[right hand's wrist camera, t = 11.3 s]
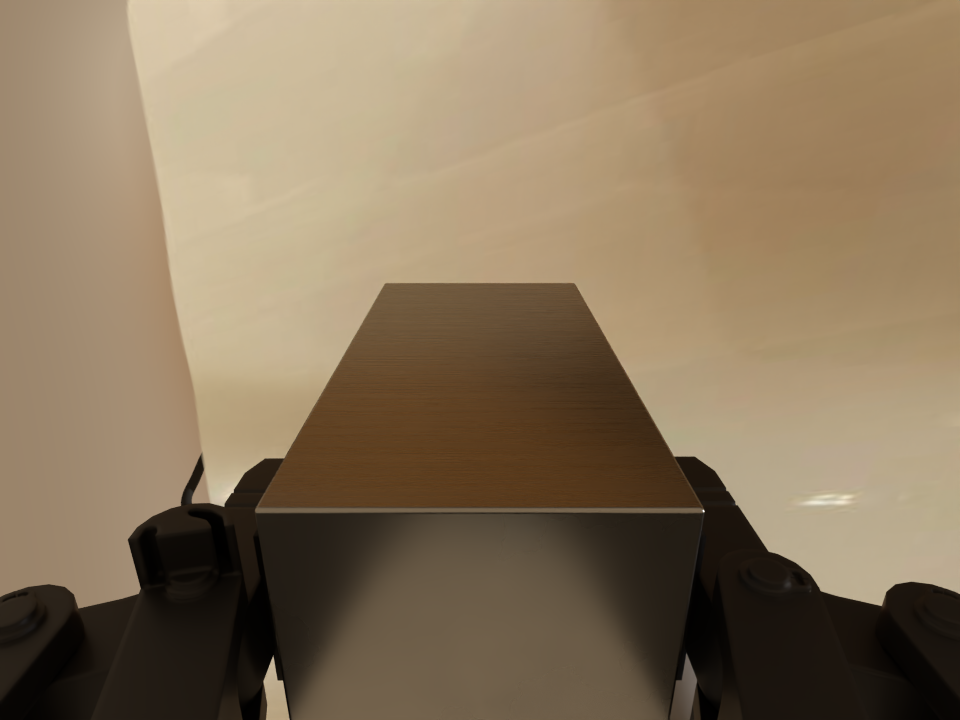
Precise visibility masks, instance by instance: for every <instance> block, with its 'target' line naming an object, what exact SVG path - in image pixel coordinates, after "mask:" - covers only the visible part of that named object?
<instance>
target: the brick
mask: <svg viewBox="0 0 960 720" xmlns="http://www.w3.org/2000/svg"><path fill="white" fill-rule="evenodd" d="M255 516H256V522H257V528H258V534H259V540H260V546H261V551H262V557H263V563H264V569H265V575H266V581H267V587H268V593H269V599H270V605H271V611H272V617H273V623H274V629H275V635H276V641H277V647H278V653H279V659H280V665H281V671H282V677H283V683H284V689H285V695H286V701H287V706H288V712H289V718H290V720H670V715H671V709H672V703H673V697H674V691H675V685H676V679H677V673H678V667H679V661H680V655H681V649H682V643H683V637H684V631H685V625H686V619H687V613H688V607H689V601H690V595H691V589H692V583H693V577H694V571H695V565H696V559H697V553H698V548H699V542H700V536H701V530H702V524H703V518H704V508H703V506H702V504H701V503H700V501H699V499H698V497H697V496H696V494H695V492H694V490H693V489H692V487H691V485H690V484H689V482H688V480H687V478H686V477H685V475H684V473H683V471H682V470H681V468H680V466H679V464H678V463H677V461H676V459H675V457H674V456H673V454H672V452H671V450H670V449H669V447H668V445H667V443H666V442H665V440H664V438H663V437H662V435H661V433H660V431H659V430H658V428H657V426H656V424H655V423H654V421H653V419H652V417H651V416H650V414H649V412H648V410H647V409H646V407H645V405H644V403H643V402H642V400H641V398H640V396H639V395H638V393H637V391H636V389H635V388H634V386H633V384H632V383H631V381H630V379H629V377H628V376H627V374H626V372H625V370H624V369H623V367H622V365H621V363H620V362H619V360H618V358H617V356H616V355H615V353H614V351H613V349H612V348H611V346H610V344H609V342H608V341H607V339H606V337H605V336H604V334H603V332H602V330H601V329H600V327H599V325H598V323H597V322H596V320H595V318H594V316H593V315H592V313H591V311H590V309H589V308H588V306H587V304H586V302H585V301H584V299H583V297H582V295H581V294H580V292H579V290H578V289H577V287H576V285H575V284H574V283H386V284H384V286H383V288H382V290H381V291H380V293H379V295H378V297H377V298H376V300H375V302H374V304H373V305H372V307H371V309H370V311H369V312H368V314H367V316H366V317H365V319H364V321H363V323H362V324H361V326H360V328H359V330H358V331H357V333H356V335H355V337H354V338H353V340H352V342H351V344H350V345H349V347H348V349H347V350H346V352H345V354H344V356H343V357H342V359H341V361H340V363H339V364H338V366H337V368H336V370H335V371H334V373H333V375H332V377H331V378H330V380H329V382H328V383H327V385H326V387H325V389H324V390H323V392H322V394H321V396H320V397H319V399H318V401H317V403H316V404H315V406H314V408H313V409H312V411H311V413H310V415H309V416H308V418H307V420H306V422H305V423H304V425H303V427H302V429H301V430H300V432H299V434H298V436H297V437H296V439H295V441H294V442H293V444H292V446H291V448H290V449H289V451H288V453H287V455H286V456H285V458H284V460H283V462H282V463H281V465H280V467H279V469H278V470H277V472H276V474H275V475H274V477H273V479H272V481H271V482H270V484H269V486H268V488H267V489H266V491H265V493H264V495H263V496H262V498H261V500H260V502H259V503H258V505H257V507H256V509H255Z"/></svg>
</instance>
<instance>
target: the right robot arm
mask: <svg viewBox="0 0 960 720" xmlns="http://www.w3.org/2000/svg"><path fill="white" fill-rule="evenodd" d="M675 459H676V461H677V463H678V464H679V466H680V468H681V470H682V471H683V473H684V475H685V477H686V478H687V480H688V482H689V484H690V485H691V487H692V489H693V490H694V492H695V494H696V496H697V497H698V499H699V501H700V503H701V504H702V506H703V508H704V518H703V524H702V530H701V536H700V542H699V548H698V553H697V559H696V565H695V571H694V577H693V583H692V589H691V595H690V601H689V607H688V613H687V619H686V625H685V631H684V637H683V643H682V649H681V655H680V661H679V667H678V673H677V679H676V685H675V691H674V697H673V703H672V709H671V715H670V720H960V594H958V593H956V592H954V591H951V590H948V589H945V588H942V587H938V586H935V585H932V584H925V583H917V582H907V583H901V584H895V585H894V586H893V587H892V588H891V589H889V590H888V591H887V592H886V595H885V598H884V601H883V604H882V606H878V605H874V604H869V603H865V602H861V601H856V600H852V599H847V598H843V597H838V596H835V595H831V594H828V593H824V592H821V591H820V589H819V587H818V585H817V584H816V582H815V581H814V579H813V578H812V576H811V575H810V574H809V573H808V572H806V571H805V570H804V569H803V568H801V567H800V566H799V565H798V564H796V563H795V562H793V561H791V560H789V559H787V558H785V557H783V556H780V555H778V554H775V553H771V552H768V550H767V549H766V547H765V546H764V544H763V543H762V541H761V540H760V538H759V537H758V535H757V534H756V532H755V531H754V529H753V528H752V526H751V525H750V523H749V522H748V520H747V519H746V517H745V516H744V514H743V513H742V511H741V510H740V508H739V507H738V505H735V501H734V499H733V498H732V496H731V495H730V493H729V492H728V491H726V487H725V486H724V484H723V483H722V481H721V480H720V478H719V477H718V475H717V474H716V472H715V471H714V470H713V469H711V468H710V467H708V466H707V465H706V464H704V463H703V462H701V461H700V460H699V459H697V458H696V457H675ZM283 460H284V459H264V460H262V461H261V462H260V463H258V464H257V465H256V466H254V467H253V468H251V469H250V470H249V471H247V472H246V473H245V474H244V475H243V477H242V478H241V480H240V481H239V483H238V484H237V486H236V487H235V489H234V493H232V494H231V495H230V497H229V498H228V500H227V501H226V503H225V507H222V506H218V505H214V504H211V503H199V504H192V496H193V494H194V492H195V489H196V487H197V486H198V484H199V481H200V479H201V477H202V474H203V472H204V469H205V468H204V462H203V454H202V453H201V455H200V457H199V459H198V461H197V464H196V466H195V468H194V471H193V473H192V475H191V477H190V479H189V481H188V483H187V485H186V487H185V489H184V491H183V494H182V498H181V506H179V507H175V508H171V509H169V510H167V511H164V512H162V513H159V514H157V515H155V516H153V517H151V518H150V519H148V520H147V521H146V522H144V523H143V524H141V525H140V526H138V527H137V528H136V530H135V531H134V532H133V534H132V535H131V536H130V538H129V539H128V542H129V546H130V550H131V553H132V557H133V561H134V564H135V568H136V572H137V576H138V579H139V583H140V587H141V590H140V592H139V594H137V595H134V596H130V597H127V598H123V599H119V600H115V601H110V602H106V603H102V604H97V605H93V606H88V607H84V608H79V609H78V606H77V603H76V600H75V597H74V594H72V593H71V592H70V591H69V590H68V589H67V588H65V587H62V586H55V585H50V584H48V585H40V586H33V587H27V588H24V589H21V590H18V591H14V592H11V593H9V594H6V595H4V596H2V597H0V720H266V713H267V700H266V694H265V688H264V683H263V681H264V678H265V675H266V673H267V670H268V668H269V665H270V662H271V660H272V657H273V655H274V661H275V667H276V673H277V679H278V680H283V677H282V671H281V665H280V659H279V653H278V647H277V641H276V635H275V629H274V623H273V617H272V611H271V605H270V599H269V593H268V587H267V581H266V575H265V569H264V563H263V557H262V551H261V546H260V540H259V534H258V528H257V522H256V516H255V509H256V507H257V505H258V503H259V502H260V500H261V498H262V496H263V495H264V493H265V491H266V489H267V488H268V486H269V484H270V482H271V481H272V479H273V477H274V475H275V474H276V472H277V470H278V469H279V467H280V465H281V463H282V462H283Z"/></svg>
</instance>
